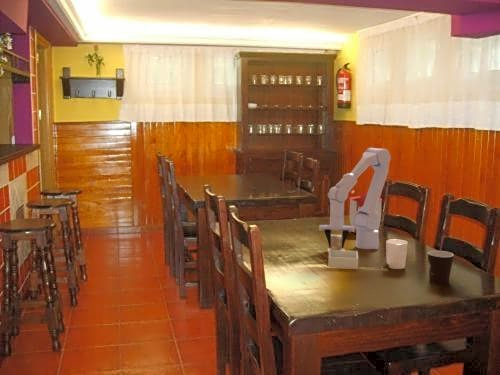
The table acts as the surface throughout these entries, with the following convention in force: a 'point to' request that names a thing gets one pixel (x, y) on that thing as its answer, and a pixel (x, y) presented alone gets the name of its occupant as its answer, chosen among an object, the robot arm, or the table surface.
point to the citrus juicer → (359, 202)
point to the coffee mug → (439, 266)
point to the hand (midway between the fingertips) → (336, 247)
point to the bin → (343, 259)
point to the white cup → (396, 253)
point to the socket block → (336, 242)
